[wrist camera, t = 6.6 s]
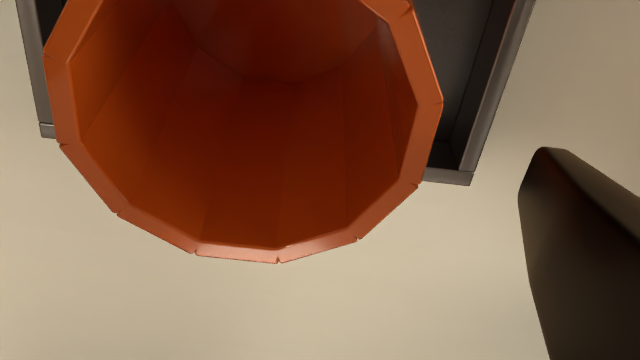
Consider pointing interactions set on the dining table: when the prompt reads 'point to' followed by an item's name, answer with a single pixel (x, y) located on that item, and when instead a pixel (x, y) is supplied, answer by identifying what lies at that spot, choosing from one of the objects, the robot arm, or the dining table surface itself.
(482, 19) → the drip tray
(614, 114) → the dining table surface
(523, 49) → the dining table surface
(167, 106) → the orange cup
